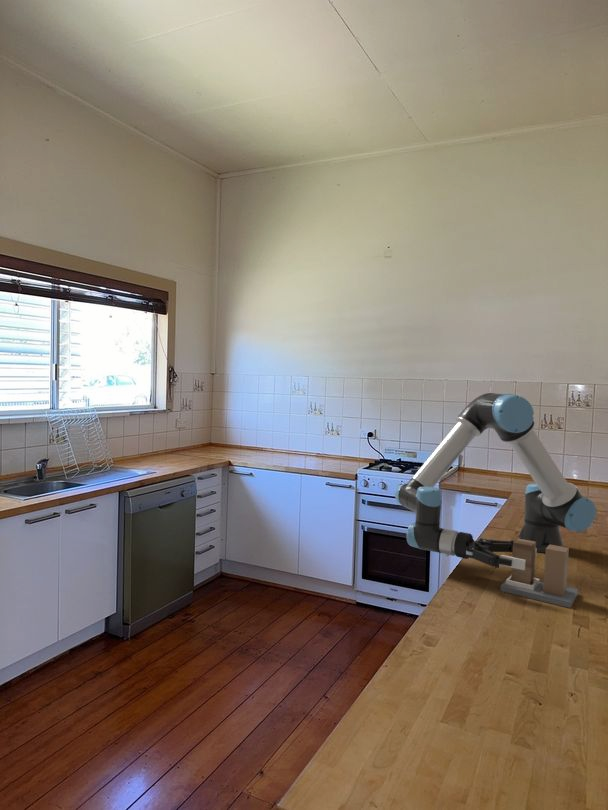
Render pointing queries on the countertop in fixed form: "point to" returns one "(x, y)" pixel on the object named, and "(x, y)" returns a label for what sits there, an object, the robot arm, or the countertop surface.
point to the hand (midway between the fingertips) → (530, 558)
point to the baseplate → (543, 595)
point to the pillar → (526, 552)
